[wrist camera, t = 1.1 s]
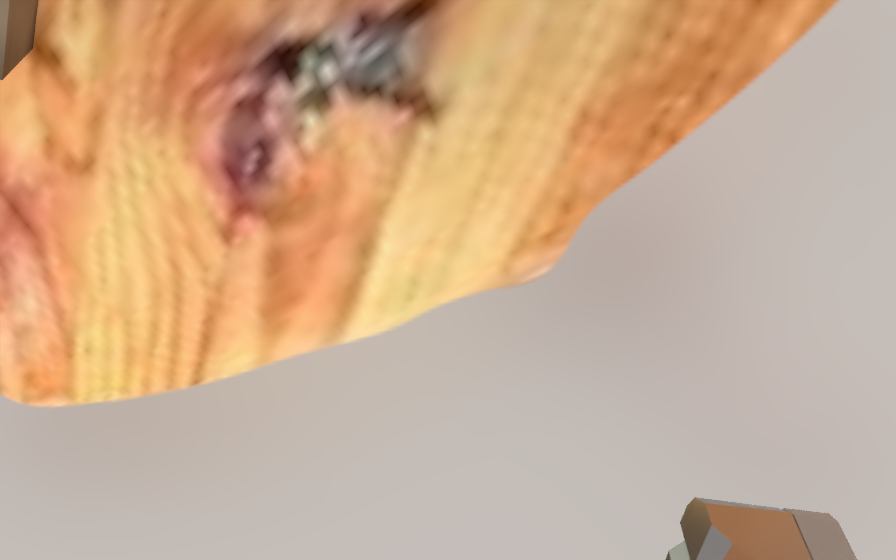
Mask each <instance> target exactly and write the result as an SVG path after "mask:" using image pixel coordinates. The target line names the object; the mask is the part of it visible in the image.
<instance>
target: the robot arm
mask: <svg viewBox="0 0 896 560" xmlns="http://www.w3.org/2000/svg"><path fill="white" fill-rule="evenodd" d="M680 524H681V527H682V531H683V535H684V539H685V541H683V542H682V543H680V544H679V545H677V546H675V547H674V548H672V549H671V550H669V552H668V554H667V557H666V560H857V558H856V556H855V554H854V552H853V551H852V549H851V547H850V545H849V543H848V541H847V539H846V537H845V535H844V533H843V531H842V529H841V527H840V525H839V523H838V522H837V520H836V519H834V518H833V517H832V516H831V515H830V514H828V513H820V512H811V511H802V510H795V509H786V508H784V509H779V508H773V507H765V506H757V505H750V504H742V503H735V502H727V501H719V500H712V499H704V498H696V497H695V498H694V499H693V500H692V501H691V502H690V503H689V504H688V505H687V507H686V510H685V512H684V515H683V517H682V519H681V522H680Z"/></svg>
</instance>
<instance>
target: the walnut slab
mask: <svg viewBox="0 0 896 560" xmlns="http://www.w3.org/2000/svg"><path fill="white" fill-rule="evenodd" d="M37 5H38V0H0V80H3V79H4V78H5V77H6V76H7V75H8V73H9V72H10V71H11V70H12V69H13V68H14V67H15V66H16V65H17V64H18V63H19V62H20V61H21V60H22V59H23V58H24V57H25V56H26V55H27V54H28V53H29V52H30V51H31V49H32V48H33V41H34V32H35V23H36V14H37Z"/></svg>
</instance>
